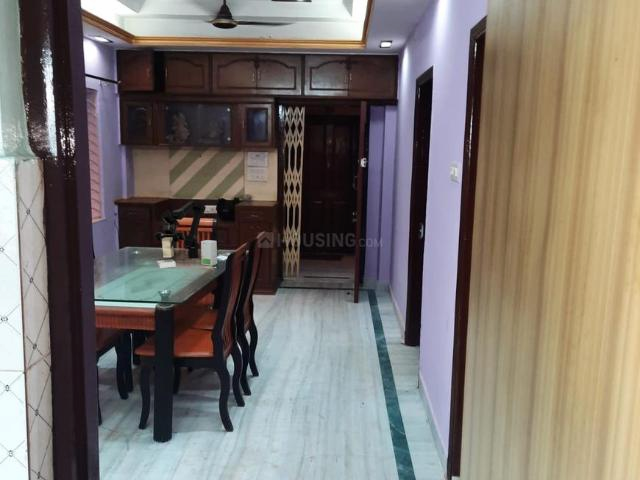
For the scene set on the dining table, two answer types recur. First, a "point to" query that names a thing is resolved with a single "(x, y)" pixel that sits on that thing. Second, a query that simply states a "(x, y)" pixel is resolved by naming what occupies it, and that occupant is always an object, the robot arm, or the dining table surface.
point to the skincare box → (209, 252)
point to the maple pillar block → (167, 247)
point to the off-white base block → (166, 263)
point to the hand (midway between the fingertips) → (167, 246)
